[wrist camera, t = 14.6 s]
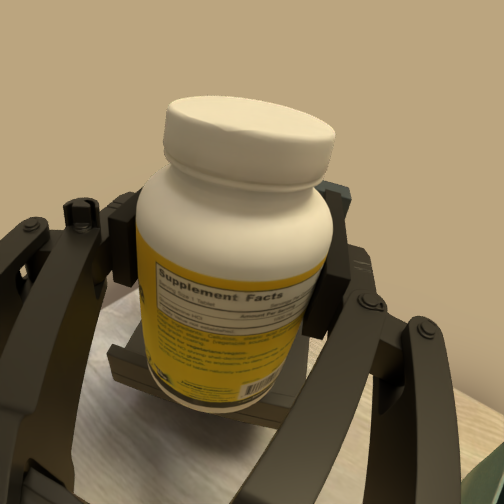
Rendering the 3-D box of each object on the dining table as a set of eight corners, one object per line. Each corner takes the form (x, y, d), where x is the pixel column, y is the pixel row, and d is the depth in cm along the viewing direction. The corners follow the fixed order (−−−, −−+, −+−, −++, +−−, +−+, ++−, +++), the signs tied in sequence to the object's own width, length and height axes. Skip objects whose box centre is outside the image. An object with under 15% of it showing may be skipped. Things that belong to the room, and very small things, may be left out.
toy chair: (125, 415, 20) (82, 239, 11) (178, 307, 30) (188, 149, 21) (275, 459, 19) (373, 315, 11) (293, 338, 29) (349, 187, 20)
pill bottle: (175, 299, 17) (193, 86, 11) (285, 332, 17) (355, 121, 11) (123, 388, 12) (89, 112, 6) (262, 435, 12) (380, 173, 5)
